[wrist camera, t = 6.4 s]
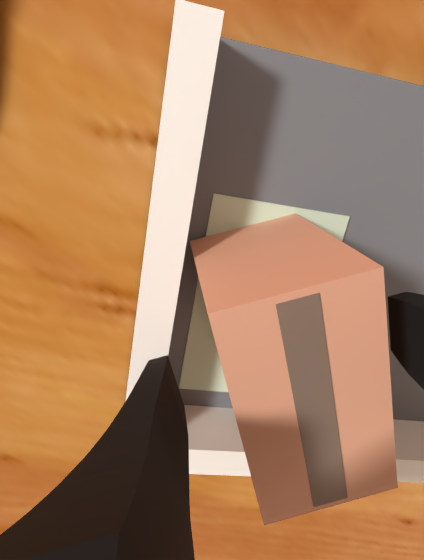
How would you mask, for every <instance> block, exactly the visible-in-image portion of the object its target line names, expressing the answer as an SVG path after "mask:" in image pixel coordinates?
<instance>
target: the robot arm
mask: <svg viewBox="0 0 424 560" xmlns="http://www.w3.org/2000/svg"><path fill="white" fill-rule="evenodd" d="M388 313H389V330H390V347H391V351H392V353H393V354H394V356H395V357H396V358H397V360H398V361H399V362H400V364H401V365H402V366H403V368H404V369H405V370H406V371H407V373H408V374H409V375H410V376H411V377H412V378H413V379H414V380H415V381H416V383H417V384H418V385H419V386H420V387H421V388H422V389H423V390H424V295H421V294H417V293H411V292H403V293H399V294H395V295H392V296H388ZM0 560H195V558H194V549H193V540H192V531H191V522H190V506H189V441H188V429H187V421H186V414H185V407H184V403H183V400H182V397H181V394H180V391H179V388H178V385H177V382H176V379H175V376H174V373H173V370H172V367H171V364H170V361H169V357H168V355H166V356H163V357H159V358H155V359H151V360H149V361H148V362H147V364H146V366H145V368H144V370H143V371H142V373H141V375H140V377H139V379H138V381H137V383H136V384H135V386H134V388H133V390H132V391H131V393H130V395H129V397H128V398H127V400H126V402H125V403H124V405H123V407H122V408H121V410H120V411H119V413H118V414H117V416H116V417H115V419H114V420H113V422H112V423H111V425H110V426H109V428H108V429H107V430H106V432H105V433H104V434H103V436H102V437H101V438H100V440H99V441H98V442H97V443H96V444H95V446H94V447H93V448H92V449H91V451H90V452H89V453H88V454H87V455H86V456H85V458H84V459H83V460H82V461H81V462H80V463H79V464H78V465H77V466H76V467H75V468H74V469H73V470H72V471H71V472H70V473H69V474H68V476H67V477H66V478H65V479H64V480H63V481H62V482H61V483H60V484H59V485H58V486H57V487H56V488H55V489H54V490H52V491H51V492H50V493H49V494H48V495H47V496H46V497H45V498H44V499H43V500H42V501H41V502H39V503H38V504H37V505H36V506H35V507H34V508H33V509H32V510H30V511H29V512H28V513H27V514H26V515H25V516H23V517H22V518H21V519H20V520H19V521H17V522H16V523H15V524H14V525H12V526H11V527H10V528H8V529H7V530H6V531H5V532H3V533H2V534H1V535H0Z"/></svg>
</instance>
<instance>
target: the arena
mask: <svg viewBox="0 0 424 560" xmlns="http://www.w3.org/2000/svg"><path fill="white" fill-rule="evenodd" d="M223 16H224V11H223V10H219V9H215V8H211V7H207V6H203V5H199V4H195V3H192V2H188V1H184V0H176V2H175V10H174V18H173V26H172V34H171V42H170V50H169V57H168V65H167V73H166V81H165V89H164V97H163V105H162V113H161V121H160V129H159V137H158V145H157V153H156V161H155V169H154V177H153V185H152V193H151V201H150V209H149V217H148V225H147V233H146V241H145V249H144V257H143V265H142V273H141V281H140V289H139V297H138V305H137V313H136V321H135V329H134V337H133V345H132V353H131V361H130V369H129V377H128V385H127V393H126V400H127V398H128V397H129V395H130V393H131V391H132V390H133V388H134V386H135V384H136V383H137V381H138V379H139V377H140V375H141V373H142V371H143V370H144V368H145V366H146V364H147V362H148V361H149V360H151V359H155V358H159V357H163V356H166V355H168V357H169V361H170V364H171V367H172V370H173V373H174V376H175V379H176V382H177V385H178V388H179V391H180V394H181V397H182V400H183V403H184V407H185V414H186V421H187V429H188V441H189V474H205V475H232V476H251V474H250V470H249V466H248V463H247V459H246V455H245V452H244V448H243V444H242V440H241V437H240V433H239V429H238V425H237V422H236V418H235V414H234V410H233V407H232V403H231V399H230V396H229V392H228V388H227V384H226V381H225V377H224V373H223V369H222V366H221V362H220V358H219V355H218V351H217V347H216V343H215V340H214V336H213V332H212V328H211V325H210V321H209V317H208V313H207V309H206V305H205V301H204V297H203V293H202V289H201V285H200V281H199V277H198V273H197V269H196V265H195V260H194V256H193V252H192V248H191V244H190V241H191V240H195V239H199V238H203V237H206V236H210V235H214V234H218V233H222V232H226V231H229V230H233V229H237V228H241V227H245V226H249V225H252V224H256V223H260V222H264V221H268V220H272V219H275V218H279V217H283V216H287V215H291V214H295V213H296V214H298V215H300V216H301V217H303V218H304V219H306V220H308V221H309V222H311V223H313V224H314V225H316V226H317V227H319V228H321V229H322V230H324V231H326V232H327V233H329V234H330V235H332V236H334V237H335V238H337V239H339V240H340V241H342V242H344V243H345V244H347V245H348V246H350V247H352V248H353V249H355V250H357V251H358V252H360V253H361V254H363V255H365V256H366V257H368V258H370V259H371V260H373V261H374V262H376V263H378V264H379V265H381V266H383V267H384V282H385V298H386V314H387V329H388V345H389V361H390V376H391V392H392V408H393V423H394V439H395V455H396V470H397V482H419V483H424V390H423V389H422V388H421V387H420V386H419V385H418V384H417V383H416V381H415V380H414V379H413V378H412V377H411V376H410V375H409V374H408V373H407V371H406V370H405V369H404V368H403V366H402V365H401V364H400V362H399V361H398V360H397V358H396V357H395V356H394V354H393V353H392V351H391V347H390V330H389V313H388V296H392V295H395V294H399V293H403V292H411V293H417V294H421V295H424V86H422V85H417V84H413V83H409V82H405V81H401V80H397V79H393V78H389V77H384V76H380V75H376V74H372V73H368V72H364V71H360V70H356V69H351V68H347V67H343V66H339V65H335V64H331V63H327V62H323V61H318V60H314V59H310V58H306V57H302V56H298V55H294V54H290V53H285V52H281V51H277V50H273V49H269V48H265V47H261V46H257V45H252V44H248V43H244V42H240V41H236V40H232V39H228V38H224V37H220V35H221V29H222V22H223ZM125 402H126V401H125Z"/></svg>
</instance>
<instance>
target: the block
mask: <svg viewBox="0 0 424 560" xmlns="http://www.w3.org/2000/svg"><path fill="white" fill-rule="evenodd" d="M190 244H191V248H192V252H193V256H194V260H195V265H196V269H197V273H198V277H199V281H200V285H201V289H202V293H203V297H204V301H205V305H206V309H207V313H208V317H209V321H210V325H211V328H212V332H213V336H214V340H215V343H216V347H217V351H218V355H219V358H220V362H221V366H222V369H223V373H224V377H225V381H226V384H227V388H228V392H229V396H230V399H231V403H232V407H233V410H234V414H235V418H236V422H237V425H238V429H239V433H240V437H241V440H242V444H243V448H244V452H245V455H246V459H247V463H248V466H249V470H250V474H251V478H252V481H253V485H254V489H255V493H256V496H257V500H258V504H259V508H260V511H261V515H262V519H263V522H264V525H267V524H270V523H274V522H278V521H281V520H285V519H288V518H292V517H295V516H299V515H302V514H306V513H309V512H313V511H317V510H320V509H324V508H327V507H331V506H334V505H338V504H341V503H345V502H349V501H352V500H356V499H359V498H363V497H366V496H370V495H373V494H377V493H380V492H384V491H388V490H391V489H395V488H398V486H397V470H396V455H395V439H394V423H393V408H392V392H391V376H390V361H389V345H388V329H387V314H386V298H385V282H384V267H383V266H381V265H379V264H378V263H376V262H374V261H373V260H371V259H370V258H368V257H366V256H365V255H363V254H361V253H360V252H358V251H357V250H355V249H353V248H352V247H350V246H348V245H347V244H345V243H344V242H342V241H340V240H339V239H337V238H335V237H334V236H332V235H330V234H329V233H327V232H326V231H324V230H322V229H321V228H319V227H317V226H316V225H314V224H313V223H311V222H309V221H308V220H306V219H304V218H303V217H301V216H300V215H298V214H296V213H295V214H291V215H287V216H283V217H279V218H275V219H272V220H268V221H264V222H260V223H256V224H252V225H249V226H245V227H241V228H237V229H233V230H229V231H226V232H222V233H218V234H214V235H210V236H206V237H203V238H199V239H195V240H191V241H190Z"/></svg>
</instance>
